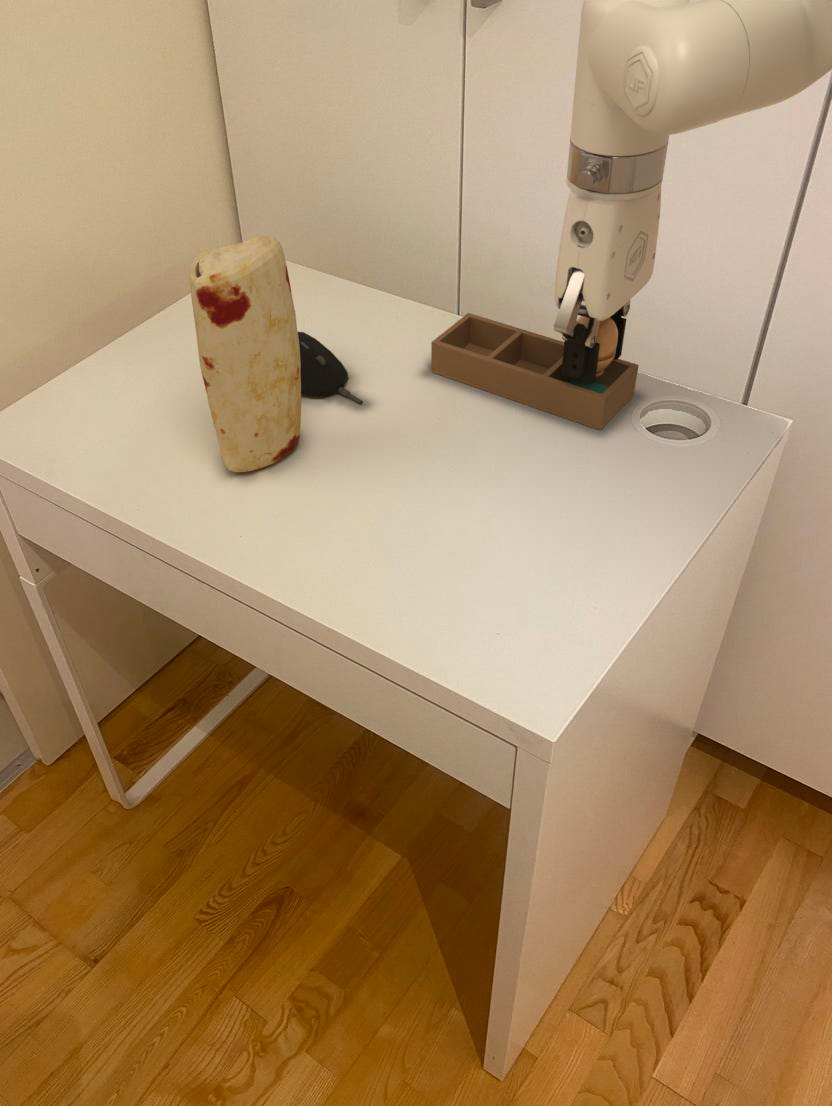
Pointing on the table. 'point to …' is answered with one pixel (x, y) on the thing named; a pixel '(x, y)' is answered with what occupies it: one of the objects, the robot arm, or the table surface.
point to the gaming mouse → (321, 370)
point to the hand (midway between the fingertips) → (591, 365)
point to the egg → (604, 342)
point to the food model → (248, 350)
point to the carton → (529, 370)
